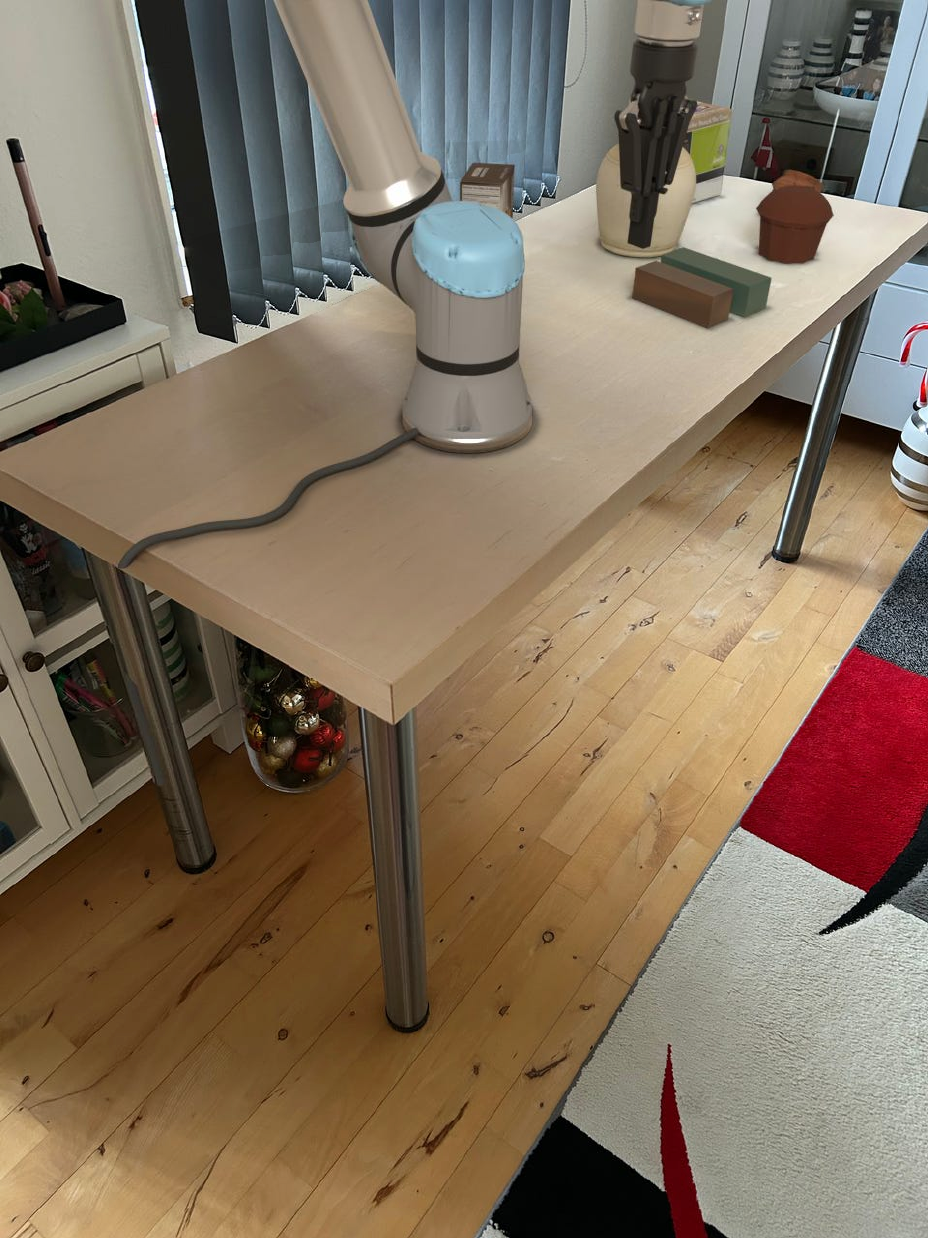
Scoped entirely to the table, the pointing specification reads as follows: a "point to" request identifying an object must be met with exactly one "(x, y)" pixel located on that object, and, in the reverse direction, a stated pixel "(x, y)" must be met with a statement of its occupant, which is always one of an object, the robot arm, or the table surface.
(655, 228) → the jug
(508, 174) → the coffee box
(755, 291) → the green bar
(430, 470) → the table surface
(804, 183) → the bread bun
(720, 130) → the tea box
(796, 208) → the muffin
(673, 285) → the walnut bar
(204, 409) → the table surface
